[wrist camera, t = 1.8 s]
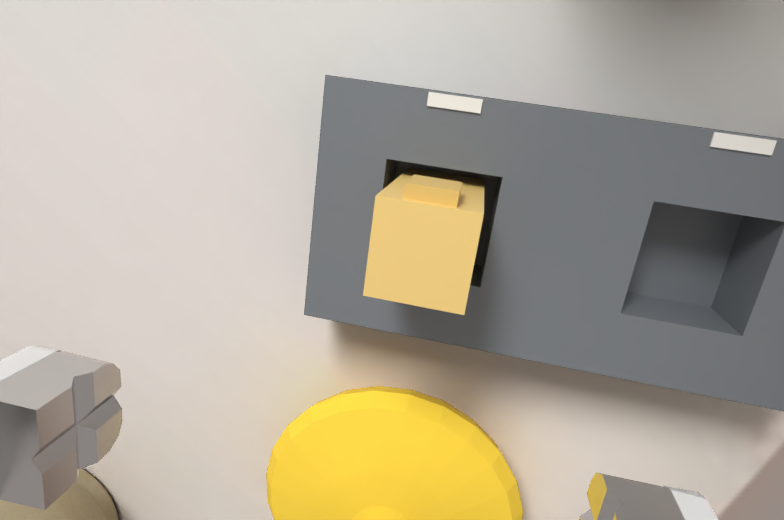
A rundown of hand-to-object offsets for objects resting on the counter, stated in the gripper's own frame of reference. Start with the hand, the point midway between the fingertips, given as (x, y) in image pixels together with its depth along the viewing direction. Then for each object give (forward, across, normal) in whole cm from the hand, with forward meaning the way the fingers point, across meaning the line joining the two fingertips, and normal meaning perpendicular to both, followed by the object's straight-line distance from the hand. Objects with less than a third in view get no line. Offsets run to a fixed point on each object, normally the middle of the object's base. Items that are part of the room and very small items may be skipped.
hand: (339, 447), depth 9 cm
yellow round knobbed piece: (+21, 0, +18) cm, 28 cm away
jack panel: (+21, -6, 0) cm, 22 cm away
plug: (+20, 0, 0) cm, 20 cm away
